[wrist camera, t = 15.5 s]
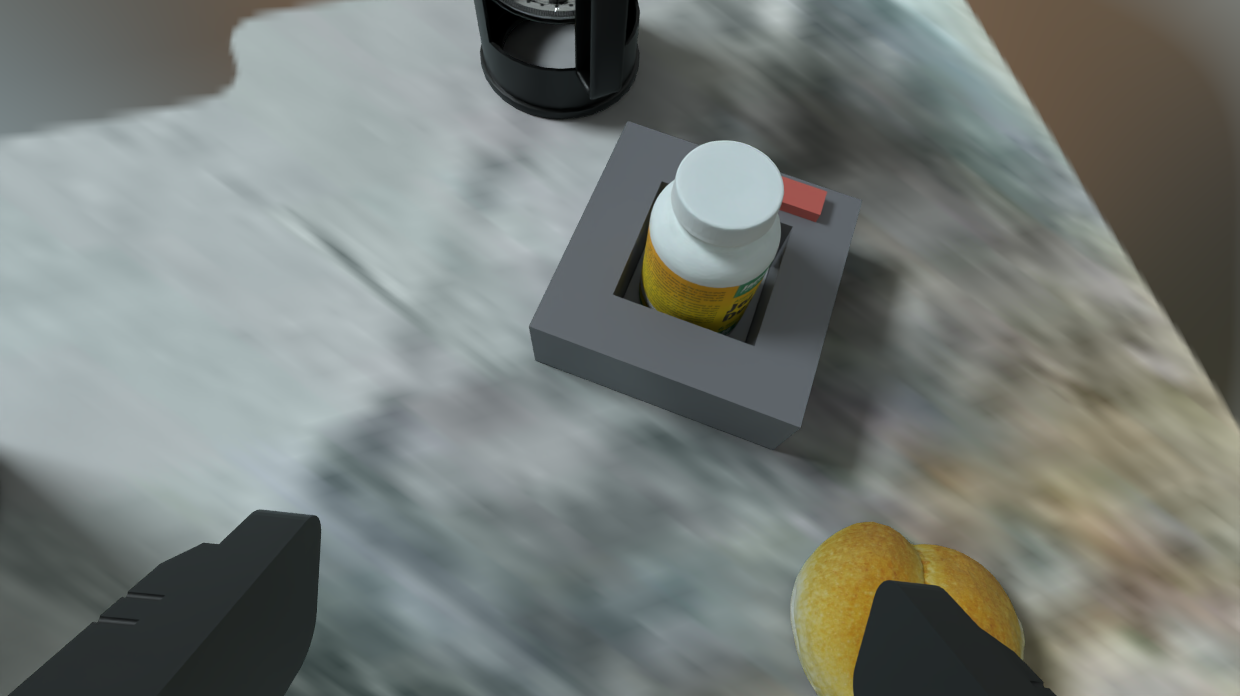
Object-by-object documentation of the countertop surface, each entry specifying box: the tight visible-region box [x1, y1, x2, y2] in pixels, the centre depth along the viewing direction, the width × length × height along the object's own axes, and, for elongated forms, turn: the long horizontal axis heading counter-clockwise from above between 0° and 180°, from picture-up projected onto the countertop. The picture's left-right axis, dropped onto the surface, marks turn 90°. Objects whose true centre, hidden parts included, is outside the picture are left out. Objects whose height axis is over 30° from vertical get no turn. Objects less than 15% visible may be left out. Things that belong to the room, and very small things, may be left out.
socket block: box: [529, 121, 862, 450], centre depth 30 cm, size 12×12×5 cm
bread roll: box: [790, 522, 1025, 696], centre depth 25 cm, size 8×9×4 cm
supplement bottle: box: [639, 140, 784, 336], centre depth 27 cm, size 5×5×10 cm
